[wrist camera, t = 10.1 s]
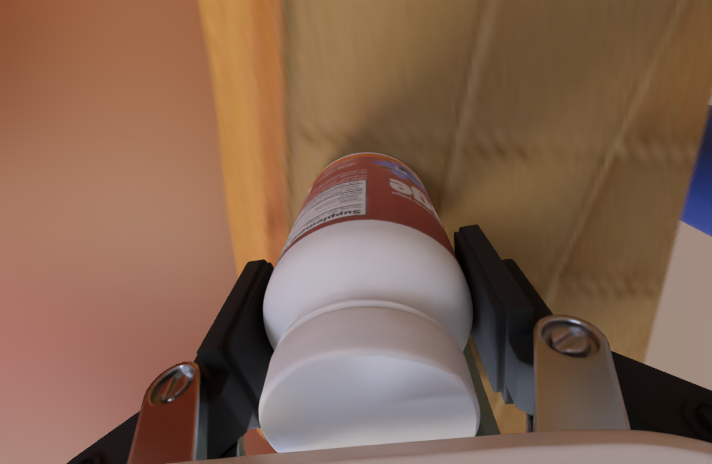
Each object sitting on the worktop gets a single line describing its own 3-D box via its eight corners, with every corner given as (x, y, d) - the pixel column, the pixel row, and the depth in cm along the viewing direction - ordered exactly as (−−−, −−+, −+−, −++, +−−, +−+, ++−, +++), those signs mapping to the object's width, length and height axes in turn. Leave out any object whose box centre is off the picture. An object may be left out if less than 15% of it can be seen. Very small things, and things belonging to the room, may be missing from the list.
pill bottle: (444, 231, 17) (552, 469, 7) (343, 273, 18) (319, 516, 9) (396, 123, 14) (465, 268, 5) (283, 183, 16) (152, 386, 6)
